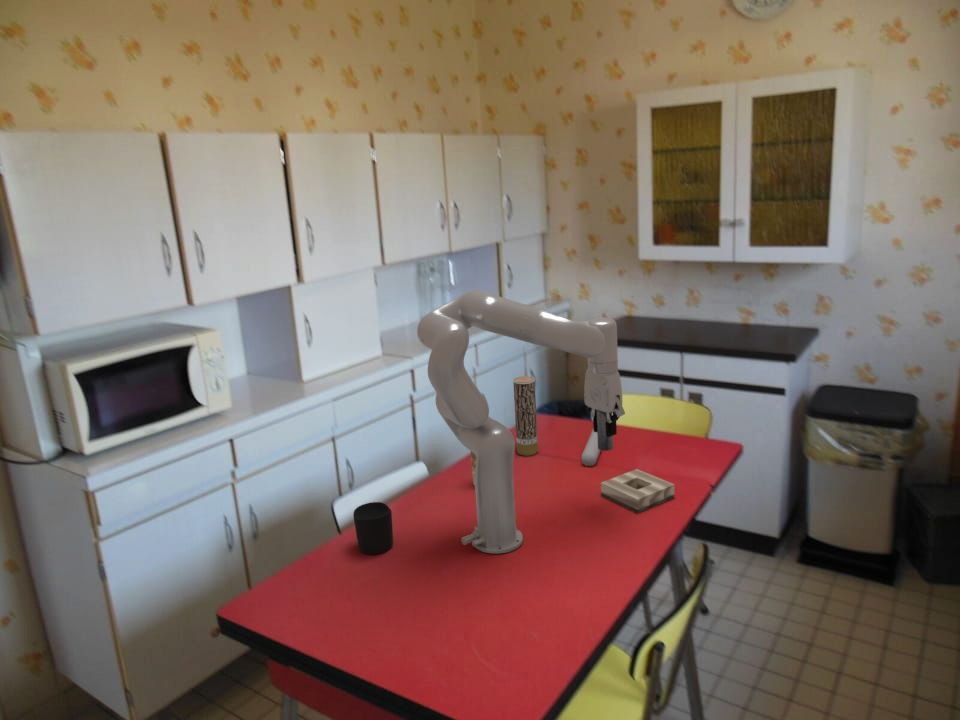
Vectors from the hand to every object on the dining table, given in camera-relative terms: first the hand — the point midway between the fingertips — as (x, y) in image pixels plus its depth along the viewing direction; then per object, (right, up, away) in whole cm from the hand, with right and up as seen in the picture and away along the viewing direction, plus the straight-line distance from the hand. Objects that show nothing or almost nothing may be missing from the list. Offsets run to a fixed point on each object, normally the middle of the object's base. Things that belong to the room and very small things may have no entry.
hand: (605, 432), depth 189 cm
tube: (+4, -11, +43) cm, 45 cm away
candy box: (-30, -18, +25) cm, 43 cm away
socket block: (+11, -19, +11) cm, 24 cm away
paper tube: (-17, -11, +46) cm, 51 cm away
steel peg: (0, -4, +1) cm, 4 cm away
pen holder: (-59, -28, -7) cm, 66 cm away
